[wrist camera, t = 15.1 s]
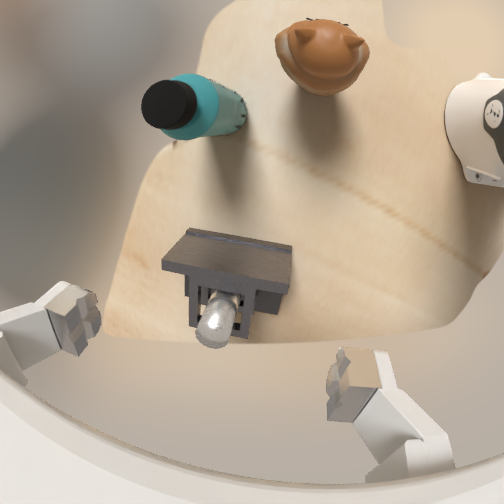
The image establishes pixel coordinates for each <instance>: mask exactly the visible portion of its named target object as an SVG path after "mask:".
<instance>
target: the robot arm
mask: <svg viewBox="0 0 504 504" xmlns="http://www.w3.org/2000/svg"><path fill="white" fill-rule="evenodd" d="M445 125H446V131H447V135H448V138H449V141H450V144H451V146H452V148H453V150H454V152H455V153H456V155H457V156H458V158H459V160H460V161H461V164H462V168H463V172H464V176H465V179H466V180H467V181H468V182H471V183H477V184H484V185H490V186H497V187H502V188H504V79H493V78H492V77H490V76H489V75H488V74H487V73H479V74H478V75H477V76H476V77H475V78H474V79H473V80H471V81H467V82H463V83H461V84H459V85H457V86H456V87H455V88H454V89H453V90H452V92H451V93H450V95H449V97H448V100H447V103H446V108H445ZM476 174H477V178H476ZM97 303H98V300H97V296H96V294H95V293H94V292H92V291H90V290H87V289H84V288H81V287H79V286H76V285H73V284H70V283H67V282H65V281H61V282H59V283H58V284H56V285H55V286H54V287H53V288H51V289H50V290H49V291H48V292H47V293H45V294H44V295H43V296H42V297H41V298H40V299H39V300H37V301H36V302H35V303H32V302H31V303H28V304H25V305H21V306H18V307H15V308H12V309H9V310H6V311H3V312H0V504H504V453H502V454H499V455H497V456H494V457H492V458H488V459H486V460H483V461H480V462H476V463H473V464H470V465H467V466H463V467H460V468H455V463H454V459H453V454H452V450H451V446H450V442H449V439H448V435H447V434H446V433H445V432H444V431H443V430H442V429H441V428H440V427H439V426H438V425H437V424H436V423H435V422H434V421H433V420H432V419H431V418H430V417H429V416H428V415H427V414H426V413H425V412H424V411H423V410H422V409H421V408H420V407H419V406H418V405H417V404H416V403H415V402H414V401H413V400H412V399H411V398H410V397H409V396H408V395H407V394H406V393H405V392H404V391H403V390H402V389H398V387H397V384H396V380H395V376H394V373H393V369H392V366H391V362H390V359H389V356H388V353H387V352H386V351H383V350H369V349H359V348H349V347H341V348H340V349H339V351H338V353H337V356H336V358H337V362H336V363H334V364H333V365H332V366H331V368H330V370H329V373H328V377H327V383H326V392H327V394H328V395H329V396H330V399H329V401H328V403H327V420H328V421H338V422H351V423H353V426H354V427H355V428H356V430H357V432H358V433H359V435H360V436H361V438H362V439H363V441H364V442H365V444H366V445H367V447H368V448H369V450H370V451H371V453H372V454H373V456H374V457H375V459H376V460H377V462H378V463H379V465H378V466H377V467H376V468H374V469H373V470H372V471H370V472H369V473H368V474H367V475H366V476H365V483H355V484H310V483H292V482H282V481H272V480H264V479H256V478H250V477H244V476H238V475H232V474H228V473H223V472H218V471H214V470H209V469H205V468H201V467H197V466H193V465H190V464H186V463H183V462H179V461H176V460H172V459H169V458H166V457H163V456H160V455H157V454H154V453H152V452H149V451H146V450H143V449H140V448H138V447H135V446H133V445H130V444H128V443H126V442H123V441H120V440H118V439H116V438H114V437H111V436H109V435H107V434H105V433H103V432H101V431H99V430H97V429H94V428H92V427H90V426H88V425H86V424H84V423H83V422H81V421H79V420H77V419H75V418H73V417H71V416H70V415H68V414H66V413H64V412H63V411H61V410H59V409H57V408H56V407H54V406H52V405H51V404H49V403H48V402H46V401H44V400H43V399H41V398H40V397H38V396H37V395H35V394H34V393H32V392H31V391H29V390H28V389H26V388H25V386H26V385H27V383H28V379H27V378H26V376H25V375H24V372H23V370H25V369H27V368H29V367H30V366H32V365H34V364H36V363H38V362H40V361H42V360H44V359H46V358H47V357H49V356H51V355H53V354H55V353H57V352H59V351H61V349H62V350H64V351H67V352H69V353H71V354H73V355H75V356H80V354H81V353H82V352H83V350H84V349H85V348H86V347H87V345H88V339H90V338H92V337H95V335H96V334H97V333H98V331H99V329H100V326H101V315H100V311H99V310H98V308H97V307H96V304H97Z"/></svg>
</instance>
